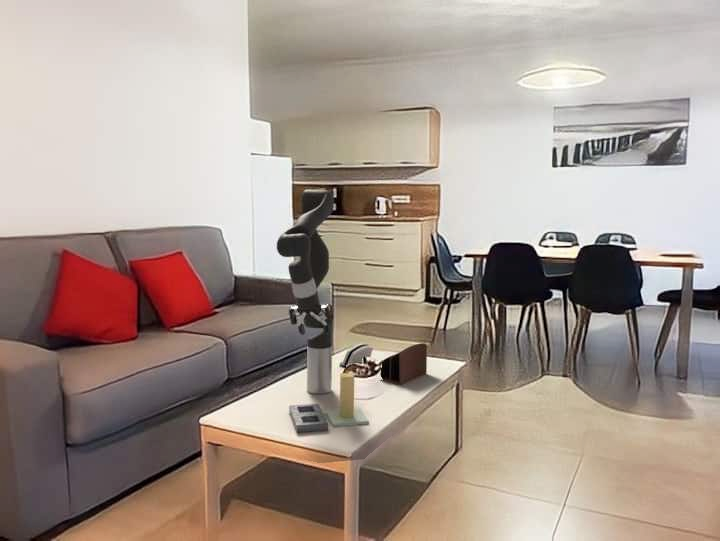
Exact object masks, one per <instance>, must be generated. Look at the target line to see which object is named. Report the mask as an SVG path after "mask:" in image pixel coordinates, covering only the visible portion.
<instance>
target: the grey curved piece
mask: <svg viewBox="0 0 720 541" xmlns="http://www.w3.org/2000/svg"><path fill="white" fill-rule="evenodd" d="M372 352H373V347H372V346H371V345H369V344H367V343H364V342H363V343H358V344H355V345H354V346H352V347H351V348H349V349H348V350H347V351H346V353H345V356H344V359H343V361H341V362H340V363H339V367H342V366H341V365H343V367H346V365H348V364H351V363H361V362H362V358H363V356H366V357H370V358H371V356H372ZM361 364H362V363H361Z"/></svg>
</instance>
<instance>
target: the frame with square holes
mask: <svg viewBox="0 0 720 541" xmlns="http://www.w3.org/2000/svg"><path fill="white" fill-rule="evenodd" d="M288 408H289V409H288V412H289V416H290V418H291V421H292V424H293V427H294V429H295V433H296V434H302V433H303V434H304V433H315V432H316V431H319V432H329V422H328V419H327V417H326V416H325V414H324V412H323V410H322V408H321V406H320V404H319V403H308V404H294V405H289V406H288Z"/></svg>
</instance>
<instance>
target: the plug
mask: <svg viewBox="0 0 720 541" xmlns="http://www.w3.org/2000/svg"><path fill="white" fill-rule="evenodd" d="M339 377H340V379H339V381H340V386H339V390H340V391H339V410H340V416H341V418H354V409H355V408H354V407H355V375H354V373H353V372H343V373H341V372H340V374H339Z"/></svg>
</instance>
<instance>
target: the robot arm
mask: <svg viewBox="0 0 720 541" xmlns="http://www.w3.org/2000/svg"><path fill="white" fill-rule="evenodd" d="M300 201H301V202H300V204H301V208H300V209H301V215H300V216H299V217H298V218H297V220H295V222H294V223H293V225H292V226H291V227H290V228H288V229H287V230H285V231H284V232H283V233H282V234H280V235H279V238H278V239H277V242H276V251H277V253H278V254H279V255H280V256H281V257H284V258H293V257H295V258H296V257H299V259H297V260H294V261H292V262H291V263H289V264H288V273H289V277H290V278H289V279H290V282H291V287H292V293H293V295H294V300H295V304H296V306H294V305H291V306H290V307H289V309H288V313H289V319H290V324H291V325H293V326H294V325H296V326H297V329H298V332H299V334H301V336H304V335H305V333H306V329H305V327H306V328H308V329H309V328H310V329H322V332H320V333H319V334H315V335H311V336H310V337H308V339H307V343H306V344H307V346H306V349H307V351H306V352H307V354H306V355H307V360H306V362H307V364H306V391H307V392H308V393H310V394H316V395H323V394H328V393H331V392H332V383H333V382H332V376H333V373H332V372H333V370H332V367H333V366H332V365H333V325H334V324H333V322H334V317H335V316H334V308H333V306H332V304H331V303H320V298H319V293H318V289H319V287H320V285H321V283H323V280H324V279H325V278H326V276H327V275H328V272H329V270H330V252H329V249H328V247H327V245H326V242H324V240H323V239H322V237H321V235H320V234H319V232H318V231H317V229H318V227H319V226H320V225H321V224H322V223H323V222H324V221H326V219H327V218H329V216H330V215H331V214H332V213H333V211H334V207H335V206H334V205H335V199H334V194H333V192H331V191H330V190H326V189H323V190H321V189H305V190H303V191H302V195H301V200H300ZM296 313H298V314H299V315H300V317H299V319H298V318H297V314H296Z"/></svg>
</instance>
